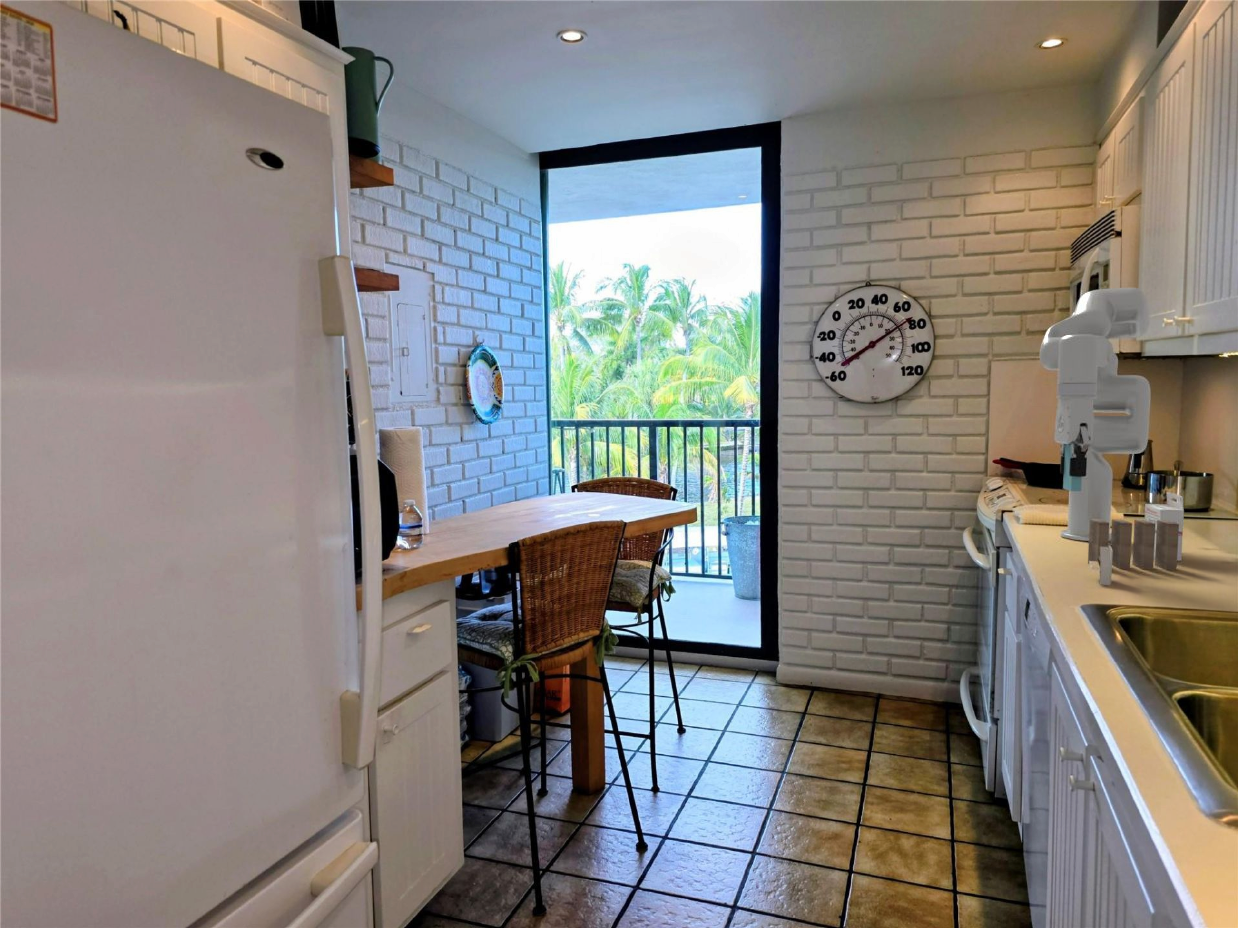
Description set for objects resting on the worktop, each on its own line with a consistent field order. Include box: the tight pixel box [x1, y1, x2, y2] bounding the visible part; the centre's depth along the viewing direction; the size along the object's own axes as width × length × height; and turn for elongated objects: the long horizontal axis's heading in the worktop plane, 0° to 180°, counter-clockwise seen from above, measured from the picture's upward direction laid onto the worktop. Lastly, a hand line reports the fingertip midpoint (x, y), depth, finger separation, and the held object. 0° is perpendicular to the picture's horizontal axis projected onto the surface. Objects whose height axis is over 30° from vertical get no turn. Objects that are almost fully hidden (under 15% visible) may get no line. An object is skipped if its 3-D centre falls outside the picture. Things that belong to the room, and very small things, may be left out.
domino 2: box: [1087, 519, 1109, 565], centre depth 175 cm, size 5×2×10 cm, turn 170°
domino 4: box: [1131, 519, 1156, 571], centre depth 174 cm, size 5×2×10 cm, turn 170°
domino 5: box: [1154, 520, 1179, 572], centre depth 173 cm, size 5×2×10 cm, turn 170°
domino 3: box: [1110, 518, 1133, 570], centre depth 174 cm, size 5×2×10 cm, turn 170°
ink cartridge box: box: [1144, 491, 1185, 562], centre depth 184 cm, size 9×5×15 cm, turn 168°
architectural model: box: [1089, 545, 1113, 586], centre depth 162 cm, size 3×7×7 cm, turn 153°
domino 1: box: [1062, 444, 1082, 491], centre depth 176 cm, size 5×2×10 cm, turn 169°
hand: (1072, 474), depth 176 cm, fingers closed on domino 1, 4 cm apart
